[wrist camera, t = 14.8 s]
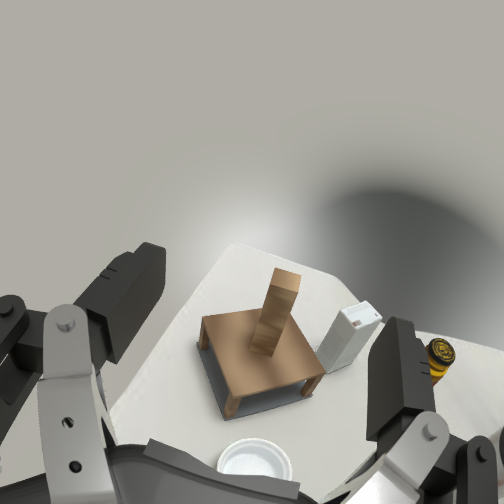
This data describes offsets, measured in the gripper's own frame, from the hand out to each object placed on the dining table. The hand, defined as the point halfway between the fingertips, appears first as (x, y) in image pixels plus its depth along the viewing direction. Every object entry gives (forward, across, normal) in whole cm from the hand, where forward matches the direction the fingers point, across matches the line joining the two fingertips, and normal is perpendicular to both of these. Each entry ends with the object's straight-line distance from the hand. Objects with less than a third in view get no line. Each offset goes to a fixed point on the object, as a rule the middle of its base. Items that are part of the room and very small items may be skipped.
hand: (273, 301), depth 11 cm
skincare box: (+28, -14, +35) cm, 46 cm away
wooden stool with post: (+21, -1, +34) cm, 40 cm away
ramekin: (+4, -4, +35) cm, 35 cm away
